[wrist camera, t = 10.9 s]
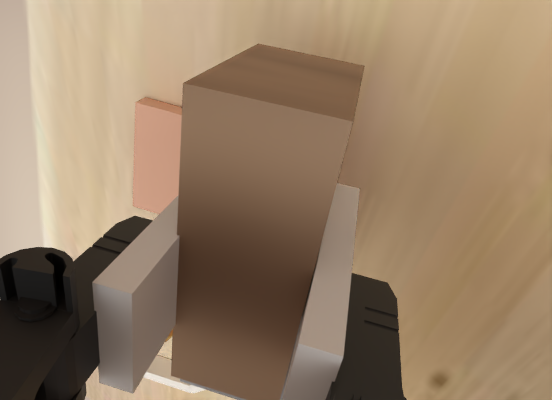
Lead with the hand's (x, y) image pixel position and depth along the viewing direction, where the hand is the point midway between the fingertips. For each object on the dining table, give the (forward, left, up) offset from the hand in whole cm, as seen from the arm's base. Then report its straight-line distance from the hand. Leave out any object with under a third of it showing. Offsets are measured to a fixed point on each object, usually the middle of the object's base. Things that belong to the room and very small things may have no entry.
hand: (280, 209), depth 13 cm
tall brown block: (-3, 0, -1) cm, 3 cm away
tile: (-3, +8, -13) cm, 16 cm away
